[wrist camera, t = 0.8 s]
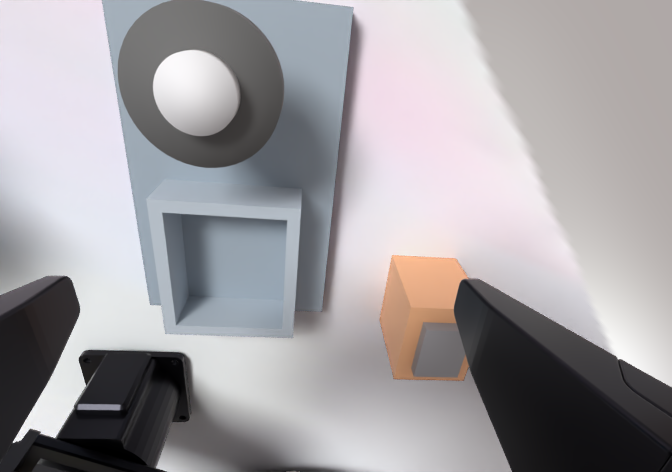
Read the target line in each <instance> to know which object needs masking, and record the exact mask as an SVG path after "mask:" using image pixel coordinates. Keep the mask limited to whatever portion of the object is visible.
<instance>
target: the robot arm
mask: <svg viewBox="0 0 672 472" xmlns="http://www.w3.org/2000/svg"><path fill="white" fill-rule="evenodd" d="M79 313H80V305H79V302H78V298H77V295H76V292H75V289H74V286H73V283H72V280H71V279H70V278H69V277H67V276H46V277H43V278H41V279H39V280H36V281H34V282H31V283H29V284H27V285H24V286H22V287H19V288H17V289H15V290H12V291H10V292H7V293H5V294H3V295H0V472H166V471H163V470H160V469H156V467H157V464H158V461H159V458H160V455H161V452H162V449H163V446H164V443H165V441H166V438H167V435H168V432H169V429H170V426H171V423H172V422H186V421H188V420H189V418H190V415H191V409H190V400H189V391H188V383H187V374H186V365H185V358H184V356H183V355H182V354H180V353H168V352H132V351H96V350H87V351H84V352H83V353H82V354H81V356H80V357H79V363H80V366H81V370H82V373H83V376H84V380H85V383H86V387H85V389H84V390H83V392H82V393H81V395H80V397H79V398H78V400H77V402H76V403H75V405H74V408H73V410H72V412H71V413H70V415H69V417H68V418H67V420H66V421H65V423H64V425H63V426H62V428H61V430H60V431H59V433H58V434H57V436H56V438H53V437H49V436H46V435H43V434H40V433H41V432H40V431H37V430H33V429H30V430H29V431H28V432H27V434H26V435H25V436H24V438H23V439H22V440H21V441H19V442H17V441H16V442H15V443H12V442H13V441H14V439H15V437H16V435H17V434H18V432H19V430H20V429H21V427H22V425H23V424H24V422H25V420H26V419H27V417H28V415H29V414H30V412H31V410H32V408H33V407H34V405H35V403H36V402H37V400H38V398H39V397H40V395H41V393H42V392H43V390H44V388H45V386H46V385H47V383H48V381H49V379H50V377H51V376H52V374H53V372H54V370H55V368H56V365H57V363H58V361H59V359H60V357H61V354H62V352H63V350H64V348H65V346H66V343H67V341H68V339H69V337H70V335H71V332H72V330H73V328H74V326H75V324H76V321H77V319H78V317H79ZM454 316H455V320H456V323H457V327H458V330H459V334H460V337H461V341H462V344H463V348H464V351H465V355H466V358H467V362H468V365H469V368H470V371H471V374H472V376H473V379H474V381H475V384H476V386H477V388H478V391H479V393H480V396H481V398H482V400H483V403H484V405H485V408H486V410H487V412H488V415H489V417H490V420H491V422H492V424H493V427H494V429H495V432H496V434H497V436H498V439H499V441H500V444H501V446H502V448H503V451H504V453H505V456H506V458H507V460H508V463H509V465H510V468H511V470H512V472H672V387H670V386H668V385H666V384H665V383H663V382H661V381H659V380H657V379H655V378H653V377H652V376H650V375H648V374H646V373H644V372H643V371H641V370H639V369H637V368H635V367H634V366H632V365H630V364H628V363H627V362H625V361H623V360H621V359H619V360H618V359H617V357H616V356H614V355H612V354H611V353H609V352H607V351H605V350H604V349H602V348H600V347H598V346H597V345H595V344H593V343H591V342H589V341H588V340H586V339H584V338H582V337H581V336H579V335H577V334H575V333H574V332H572V331H570V330H568V329H566V328H565V327H563V326H561V325H559V324H558V323H556V322H554V321H552V320H551V319H549V318H547V317H545V316H544V315H542V314H540V313H538V312H536V311H535V310H533V309H531V308H529V307H528V306H526V305H524V304H522V303H521V302H519V301H517V300H515V299H514V298H512V297H510V296H508V295H506V294H505V293H503V292H501V291H499V290H498V289H496V288H494V287H492V286H491V285H489V284H487V283H485V282H483V281H482V280H480V279H463V280H461V282H460V284H459V287H458V291H457V295H456V300H455V304H454ZM175 360H177V361H175Z"/></svg>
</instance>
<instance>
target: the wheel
mask: <svg viewBox="0 0 672 472" xmlns="http://www.w3.org/2000/svg"><path fill="white" fill-rule="evenodd" d="M118 83H119V88H120V93H121V97H122V99H123V102H124V105H125V107H126V110H127V112H128V114H129V116H130V117H131V119H132V121H133V122H134V124H135V125H136V127H137V128H138V129H139V131H140V132H141V133H142V134H143V135H144V136H145V138H146V139H147V140H148V141H149V142H150V143H152V144H153V145H154V146H155V147H156V148H158V149H159V150H160V151H162V152H163V153H165V154H166V155H168V156H170V157H172V158H174V159H176V160H178V161H180V162H183V163H186V164H189V165H193V166H197V167H204V168H221V167H227V166H231V165H235V164H238V163H240V162H243V161H245V160H246V159H248V158H250V157H252V156H253V155H254V154H256V153H257V152H258V151H259V150H260V149H261V148H262V147H263V146H264V145H265V144H266V143H267V141H268V140H269V139H270V137H271V135H272V134H273V132H274V130H275V128H276V125H277V123H278V120H279V117H280V114H281V111H282V106H283V102H284V78H283V72H282V68H281V65H280V61H279V59H278V57H277V54H276V52H275V50H274V48H273V46H272V45H271V43H270V41H269V40H268V39H267V37H266V36H265V35H264V33H263V32H262V31H261V30H260V29H259V28H258V27H257V26H256V25H255V24H254V23H253V22H252V21H251V20H249V19H248V18H247V17H245V16H244V15H242V14H241V13H239V12H237V11H235V10H233V9H231V8H229V7H227V6H224V5H221V4H217V3H213V2H209V1H204V0H171V1H167V2H163V3H161V4H159V5H156V6H154V7H152V8H151V9H149V10H148V11H146V12H145V13H143V14H142V15H141V16H140V17H139V18H138V19H137V20H136V21H135V22H134V23H133V25H132V26H131V27H130V29H129V30H128V32H127V34H126V36H125V38H124V40H123V43H122V46H121V49H120V53H119V58H118Z"/></svg>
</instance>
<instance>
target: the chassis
mask: <svg viewBox="0 0 672 472" xmlns="http://www.w3.org/2000/svg"><path fill="white" fill-rule="evenodd" d="M167 1H171V0H102V4H103V10H104V17H105V23H106V29H107V36H108V42H109V48H110V55H111V61H112V67H113V74H114V80H115V86H116V93H117V99H118V105H119V111H120V118H121V124H122V130H123V137H124V143H125V149H126V156H127V162H128V168H129V175H130V181H131V187H132V194H133V200H134V206H135V213H136V219H137V225H138V232H139V238H140V244H141V251H142V257H143V263H144V269H145V276H146V282H147V288H148V295H149V301H150V305H161V307H162V314H163V321H164V328H165V334H185V335H216V336H247V337H278V338H293V331H294V315H295V311H319V312H322V304H323V295H324V285H325V276H326V266H327V256H328V247H329V237H330V228H331V218H332V208H333V199H334V189H335V180H336V170H337V160H338V151H339V141H340V132H341V122H342V112H343V103H344V93H345V84H346V74H347V64H348V55H349V45H350V36H351V26H352V16H353V7H348V6H339V5H331V4H322V3H314V2H306V1H297V0H204V1H209V2H213V3H217V4H221V5H224V6H227V7H229V8H231V9H233V10H235V11H237V12H239V13H241V14H242V15H244V16H245V17H247V18H248V19H249V20H251V21H252V22H253V23H254V24H255V25H256V26H257V27H258V28H259V29H260V30H261V31H262V32H263V33H264V35H265V36H266V37H267V39H268V40H269V41H270V43H271V45H272V46H273V48H274V50H275V52H276V54H277V57H278V59H279V61H280V65H281V68H282V72H283V78H284V102H283V106H282V111H281V114H280V117H279V120H278V123H277V125H276V128H275V130H274V132H273V134H272V135H271V137H270V139H269V140H268V141H267V143H266V144H265V145H264V146H263V147H262V148H261V149H260V150H259V151H258V152H257V153H256V154H254V155H253V156H252V157H250V158H248V159H246V160H245V161H243V162H240V163H238V164H235V165H231V166H227V167H221V168H204V167H197V166H193V165H189V164H186V163H183V162H180V161H178V160H176V159H174V158H172V157H170V156H168V155H166V154H165V153H163V152H162V151H160V150H159V149H158V148H156V147H155V146H154V145H153V144H152V143H150V142H149V141H148V140H147V139H146V138H145V136H144V135H143V134H142V133H141V132H140V131H139V129H138V128H137V127H136V125H135V124H134V122H133V121H132V119H131V117H130V116H129V114H128V112H127V110H126V107H125V105H124V102H123V99H122V97H121V93H120V88H119V83H118V58H119V53H120V49H121V46H122V43H123V40H124V38H125V36H126V34H127V32H128V30H129V29H130V27H131V26H132V25H133V23H134V22H135V21H136V20H137V19H138V18H139V17H140V16H141V15H142V14H143V13H145V12H146V11H148V10H149V9H151V8H152V7H154V6H156V5H159V4H161V3H163V2H167Z"/></svg>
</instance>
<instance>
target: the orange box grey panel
mask: <svg viewBox="0 0 672 472" xmlns="http://www.w3.org/2000/svg"><path fill="white" fill-rule="evenodd" d="M463 279H469V278H468V277H467V275H466V274H465V272H464V271H463V269H462V267H461V266H460V264H459V263H458V261H457V260H456V259H453V258H435V257H417V256H399V255H392V258H391V263H390V268H389V273H388V279H387V284H386V289H385V294H384V299H383V304H382V309H381V314H380V324H381V328H382V332H383V336H384V340H385V344H386V349H387V353H388V357H389V361H390V365H391V369H392V373H393V377H394V379H407V380H455V381H464V378H465V375H466V373H467V370H468V367H469V365H468V362H467V358H466V355H465V351H464V348H463V344H462V341H461V337H460V334H459V330H458V327H457V323H456V320H455V316H454V304H455V300H456V295H457V291H458V287H459V284H460V282H461V280H463Z"/></svg>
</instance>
